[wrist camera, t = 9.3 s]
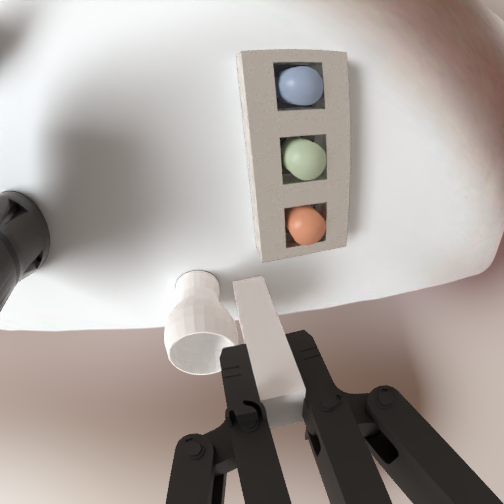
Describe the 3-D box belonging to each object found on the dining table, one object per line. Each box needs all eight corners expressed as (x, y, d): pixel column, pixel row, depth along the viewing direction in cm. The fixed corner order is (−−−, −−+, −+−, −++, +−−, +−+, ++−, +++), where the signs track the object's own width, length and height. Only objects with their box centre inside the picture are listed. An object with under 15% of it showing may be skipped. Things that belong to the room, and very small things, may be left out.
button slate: (274, 104, 36) (285, 106, 31) (271, 69, 33) (281, 66, 29) (310, 103, 36) (324, 105, 32) (307, 68, 33) (322, 66, 29)
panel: (256, 247, 48) (262, 262, 44) (235, 56, 32) (240, 51, 28) (334, 233, 49) (346, 246, 45) (331, 54, 33) (346, 52, 30)
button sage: (279, 172, 41) (290, 182, 37) (277, 137, 38) (287, 143, 34) (312, 168, 42) (326, 178, 37) (311, 134, 39) (326, 140, 35)
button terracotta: (283, 232, 46) (292, 248, 42) (281, 202, 44) (291, 215, 39) (313, 227, 47) (325, 242, 43) (313, 197, 44) (326, 210, 40)
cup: (237, 272, 50) (254, 337, 37) (214, 316, 54) (224, 381, 41) (177, 255, 46) (175, 320, 33) (160, 303, 50) (156, 369, 37)
